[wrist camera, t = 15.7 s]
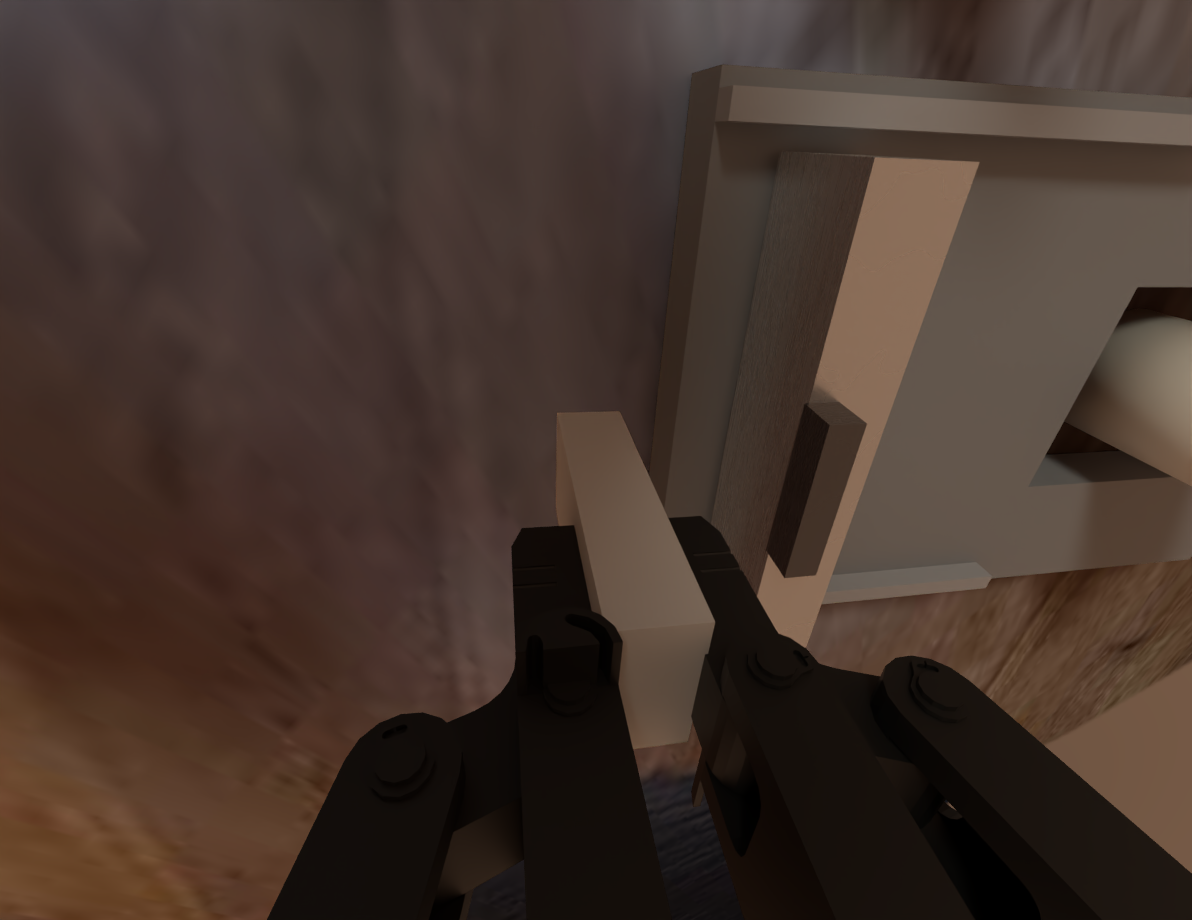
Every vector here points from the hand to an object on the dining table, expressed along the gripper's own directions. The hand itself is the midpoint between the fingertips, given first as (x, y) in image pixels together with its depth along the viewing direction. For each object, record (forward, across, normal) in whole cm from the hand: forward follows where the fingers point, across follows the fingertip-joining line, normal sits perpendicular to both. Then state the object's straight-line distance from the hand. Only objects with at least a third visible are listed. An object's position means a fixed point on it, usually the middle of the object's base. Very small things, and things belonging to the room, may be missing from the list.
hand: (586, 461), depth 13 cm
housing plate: (+4, +15, 0) cm, 15 cm away
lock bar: (+2, +5, 0) cm, 6 cm away
